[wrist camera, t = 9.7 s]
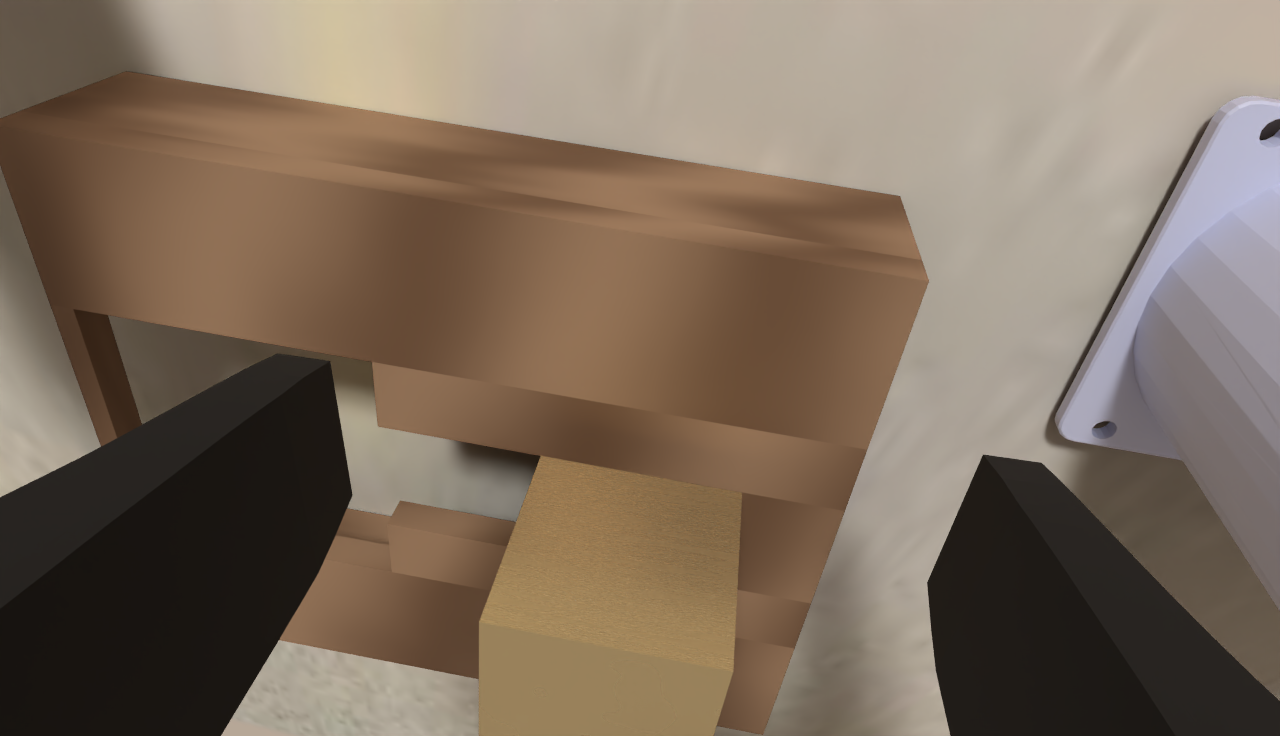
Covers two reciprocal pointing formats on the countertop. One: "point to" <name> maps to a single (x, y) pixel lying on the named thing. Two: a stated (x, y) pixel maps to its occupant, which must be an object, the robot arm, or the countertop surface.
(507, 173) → the keyhole board
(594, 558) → the brass peg
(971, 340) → the countertop surface
